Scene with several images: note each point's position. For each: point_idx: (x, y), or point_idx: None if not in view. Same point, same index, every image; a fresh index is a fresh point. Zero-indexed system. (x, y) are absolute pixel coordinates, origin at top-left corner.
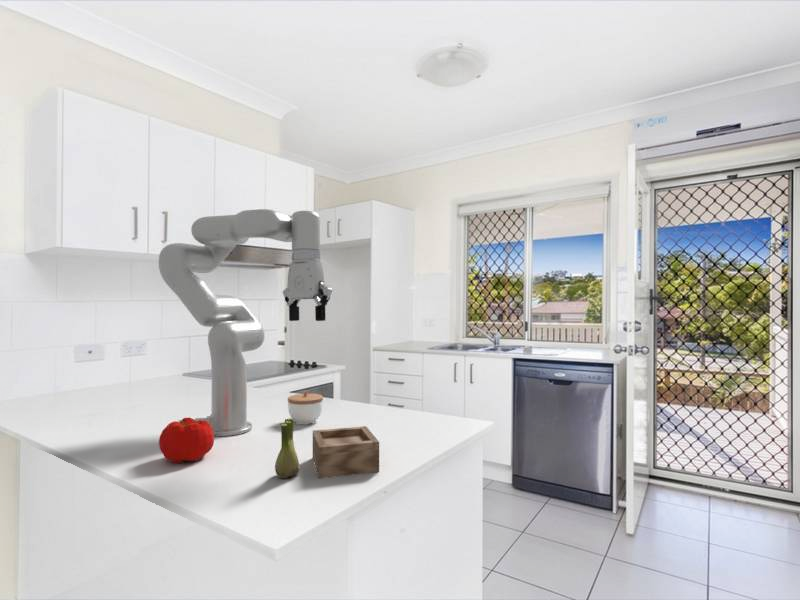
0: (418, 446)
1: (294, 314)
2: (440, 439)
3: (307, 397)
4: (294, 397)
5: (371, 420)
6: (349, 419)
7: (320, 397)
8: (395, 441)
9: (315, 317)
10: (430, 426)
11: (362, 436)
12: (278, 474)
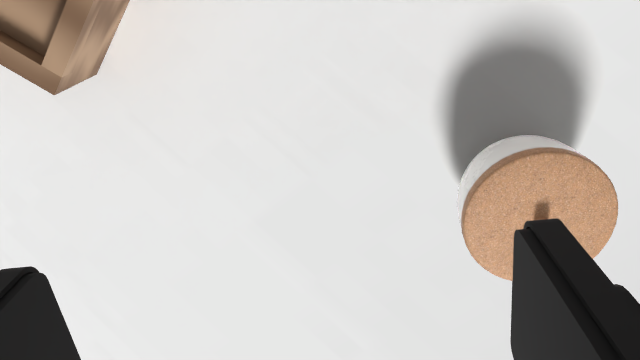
0: (47, 205)
1: (543, 337)
2: (57, 281)
3: (517, 216)
4: (569, 184)
5: (336, 308)
6: (402, 280)
7: (474, 249)
8: (122, 200)
9: (17, 291)
10: (163, 351)
11: (31, 47)
12: None
